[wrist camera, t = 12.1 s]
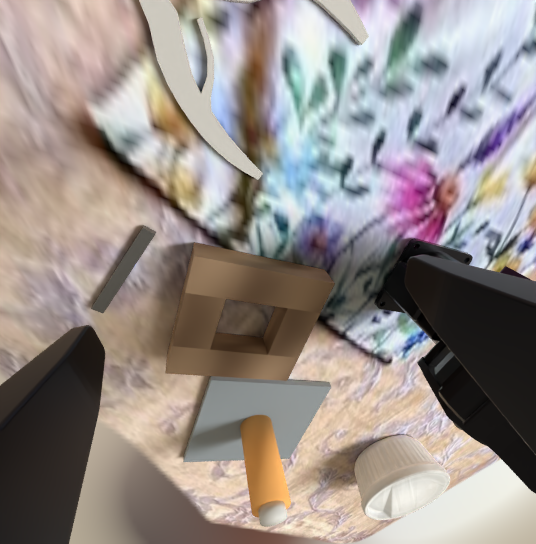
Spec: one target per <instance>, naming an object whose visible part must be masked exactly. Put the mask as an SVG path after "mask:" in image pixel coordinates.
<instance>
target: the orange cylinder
mask: <svg viewBox="0 0 536 544" xmlns="http://www.w3.org/2000/svg"><path fill="white" fill-rule="evenodd" d="M240 431H241V438H242V445H243V452H244V460H245V467H246V474H247V481H248V488H249V495H250V502H251V509H252V514H253V516H255V517H258V518H259V520H260V524H261V525H262V526H265V527H269V526H274V525H277V524H280V523H281V522H283V521H284V520H285V519H286V518H287V511H286V509H287V508H288V507H289V506H290V504H291V501H290V497H289V492H288V488H287V484H286V480H285V476H284V471H283V467H282V463H281V459H280V455H279V451H278V446H277V442H276V438H275V434H274V430H273V426H272V421H271V419H270V418H269V417H268V416H266V415H254V416H251V417H249V418H247V419H245V420H244V421H243V422H242V423H241V425H240Z"/></svg>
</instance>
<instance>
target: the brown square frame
mask: <svg viewBox="0 0 536 544" xmlns="http://www.w3.org/2000/svg"><path fill="white" fill-rule="evenodd" d="M334 284H335V283H334V281H333V280H332V279H331V277H330V276H329V275H328V273H327V272H326V271H325V270H324V269H319V268H314V267H310V266H305V265H300V264H295V263H290V262H286V261H281V260H276V259H271V258H267V257H262V256H257V255H252V254H247V253H243V252H238V251H233V250H228V249H224V248H219V247H214V246H209V245H204V244H200V243H195V242H194V244H193V249H192V253H191V257H190V261H189V265H188V270H187V274H186V278H185V282H184V286H183V291H182V295H181V299H180V303H179V307H178V311H177V316H176V320H175V324H174V328H173V332H172V337H171V341H170V345H169V349H168V353H167V363H166V373H170V374H186V375H201V376H217V377H233V378H249V379H265V380H281V381H287V380H288V378H289V376H290V374H291V372H292V370H293V368H294V366H295V364H296V362H297V360H298V358H299V356H300V354H301V351H302V349H303V347H304V345H305V343H306V341H307V339H308V337H309V335H310V333H311V331H312V329H313V327H314V325H315V323H316V321H317V319H318V317H319V315H320V313H321V311H322V309H323V307H324V305H325V303H326V301H327V299H328V297H329V295H330V292H331V290H332V288H333V286H334ZM226 299H230V300H236V301H243V302H250V303H256V304H263V305H269V306H276V307H275V309H274V312H273V314H272V316H271V319H270V321H269V324H268V326H267V329H266V331H265V334H264V336H263V338H261V337H252V336H243V335H234V334H225V333H216V329H217V326H218V323H219V320H220V316H221V313H222V310H223V307H224V304H225V301H226Z"/></svg>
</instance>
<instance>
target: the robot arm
mask: <svg viewBox="0 0 536 544" xmlns="http://www.w3.org/2000/svg"><path fill="white" fill-rule="evenodd" d="M415 244H416V246H415V247H414V245H415ZM471 261H472V256H471V255H470V254H468V253H466V252H462V251H459V250H455V249H452V248H448V247H445V246H441V245H437V244H434V243H430V242H427V241H423V240H420V239H412V240H411V241H410V242H409V243H408V245H407V247H406V248H405V250H404V252H403V254H402V255H401V257H400V259H399V261H398V262H397V264H396V266H395V268H394V269H393V271H392V273H391V275H390V276H389V278H388V280H387V281H386V283H385V285H384V287H383V288H382V290H381V292H380V294H379V295H378V297H377V299H376V301H375V305H376V306H377V307H378V308H379V309H384V310H390V311H396V312H402V313H406V314H407V315H408V316H409V317H410V318H411V319H412V320H413V321H414V322H415V323H416V324H417V325H418V326H419V327H420V328H421V329H422V330H423V331H424V332H425V333H426V334H427V335H428V336H429V337H430V338H431V339H432V341H433V342H434V343H435V344H436V345H435V346H434V347H433V348H432V349H431V350H430V351H429V352H428V353H427V355H426V356H425V357H422V358H421V359H420V360H419V361H418V362H417V363H418V365H419V366H420V368H421V370H422V372H423V374H424V376H425V378H426V380H427V381H428V383H429V385H430V387H431V388H432V390H433V392H434V394H435V396H436V397H437V399H438V401H439V403H440V404H441V406H442V408H443V410H444V411H445V413H446V415H447V416H448V418H449V419H450V420H452V421H453V423H454V424H455V426H456V427H458V428H459V429H461V430H463V431H465V432H466V433H467V434H468V435H470V436H471V437H472V438H474V439H475V440H477V441H478V442H480V443H482V444H484V445H486V446H488V447H489V448H490V449H492V450H493V451H494V452H495V453H496V454H497V455H498V456H499V457H500V458H501V459H502V460H503V461H504V462H505V463H506V464H507V465H508V466H509V467H510V468H511V470H513V472H514V473H515V474H516V475H517V476H518V477H519V478H520V479H521V480H522V481H523V482H524V483H525V485H526V486H527V487H528V488H529V489H530V490H531V491H533V492H534V493H536V281H532V280H530V279H529V278H527V277H525V276H523V275H521V274H519V273H518V272H516V271H514V270H512V269H510V268H508V267H506V266H505V267H504V268H503V269H502V271H501V272H500V273H499V272H495V271H491V270H486V269H482V268H478V267H474V266H470V265H469V264H470V262H471ZM381 302H382V303H381ZM104 362H105V350H104V347H103V345H102V343H101V341H100V340H99V338H98V336H97V334H96V332H95V331H94V329H93V328H92V327H91V326H89V325H85V326H81V327H76V328H73V329H71V330H69V331H68V332H67V333H66V334H64V335H63V336H62V337H61V338H59V339H58V340H57V341H56V342H54V343H53V344H52V345H51V346H49V347H48V348H47V349H46V350H44V351H43V352H42V353H40V354H39V355H38V356H37V357H35V358H34V359H33V360H32V361H30V362H29V363H28V364H27V365H25V366H24V367H23V368H22V369H20V370H19V371H18V372H17V373H15V374H14V375H13V376H12V377H10V378H9V379H8V380H7V381H5V382H4V383H3V384H1V386H0V544H69V540H70V536H71V532H72V528H73V523H74V519H75V514H76V510H77V505H78V501H79V497H80V492H81V488H82V483H83V479H84V474H85V471H86V466H87V462H88V457H89V453H90V449H91V444H92V440H93V435H94V431H95V427H96V422H97V418H98V413H99V407H100V399H101V390H102V381H103V371H104Z"/></svg>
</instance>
